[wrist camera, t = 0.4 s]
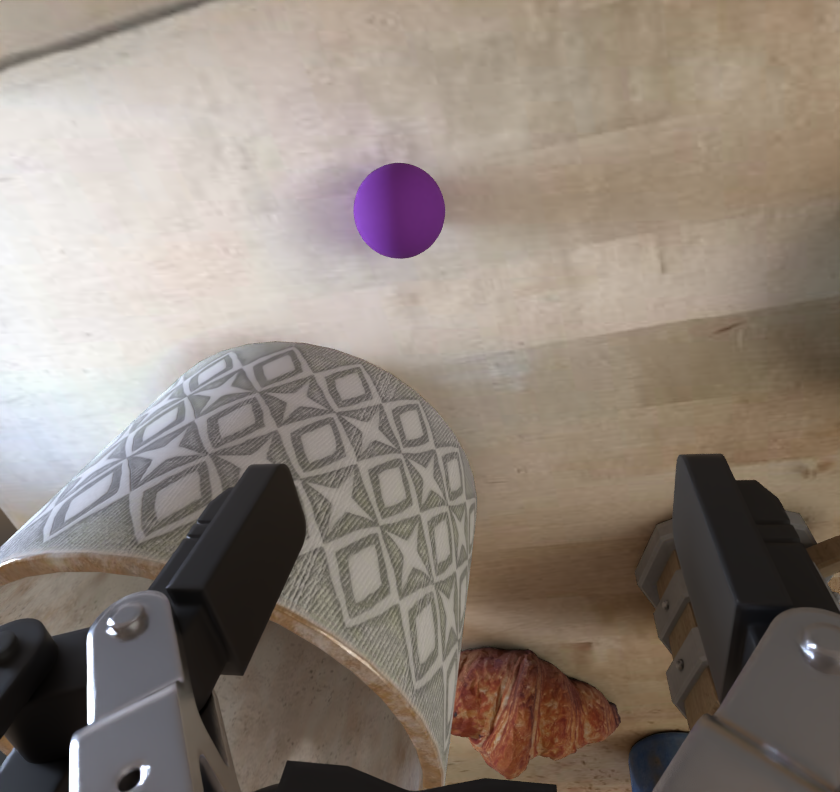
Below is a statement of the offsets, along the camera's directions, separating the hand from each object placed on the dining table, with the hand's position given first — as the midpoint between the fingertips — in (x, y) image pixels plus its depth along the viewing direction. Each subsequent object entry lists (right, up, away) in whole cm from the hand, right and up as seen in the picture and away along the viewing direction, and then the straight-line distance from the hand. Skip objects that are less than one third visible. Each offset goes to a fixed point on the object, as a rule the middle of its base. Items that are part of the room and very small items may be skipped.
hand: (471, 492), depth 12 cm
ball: (-2, +13, +21) cm, 25 cm away
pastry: (+7, -26, +46) cm, 53 cm away
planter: (-9, -4, +36) cm, 37 cm away
